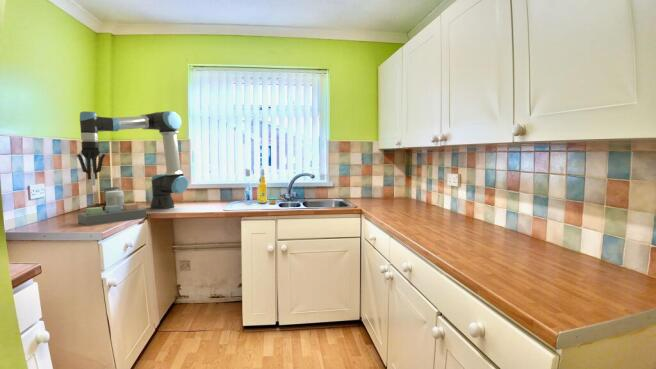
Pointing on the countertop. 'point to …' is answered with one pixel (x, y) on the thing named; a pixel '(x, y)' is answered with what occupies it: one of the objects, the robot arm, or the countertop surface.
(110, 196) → the supplement tub
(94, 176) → the robot arm
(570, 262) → the countertop surface
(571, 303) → the countertop surface
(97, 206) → the milk frother
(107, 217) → the console
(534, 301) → the countertop surface
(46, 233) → the countertop surface
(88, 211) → the green button
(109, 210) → the slate button
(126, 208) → the terracotta button
